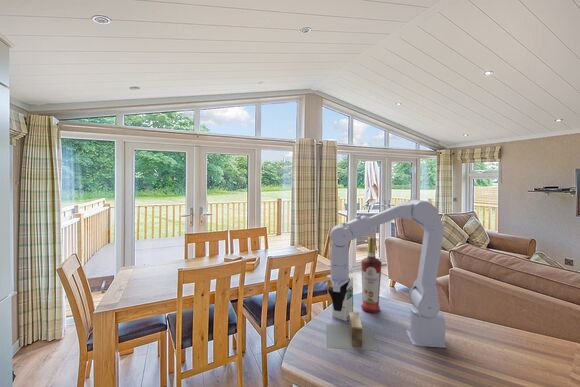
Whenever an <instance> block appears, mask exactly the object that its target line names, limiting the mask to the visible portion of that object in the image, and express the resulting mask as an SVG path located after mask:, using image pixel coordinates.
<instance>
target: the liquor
mask: <svg viewBox="0 0 580 387" xmlns="http://www.w3.org/2000/svg"><path fill="white" fill-rule="evenodd" d="M376 240H377V239H376V237H373V236H368V237H367V244H368V247H367V248H368V250H367V257H364V258H363V259H362V260H361V262H360V263H361V285H362V286H361V288H362V303H361V306H360V307H361V308H362V310H364V311H365V312H367V313H374V314H375V313H376V312H378V311H379V310H380V309H381V307H380V292H381V291H380V288H381V279H382V278H381V276H382V265H383V264H382V261H381V260H380V259H378V258H376Z"/></svg>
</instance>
